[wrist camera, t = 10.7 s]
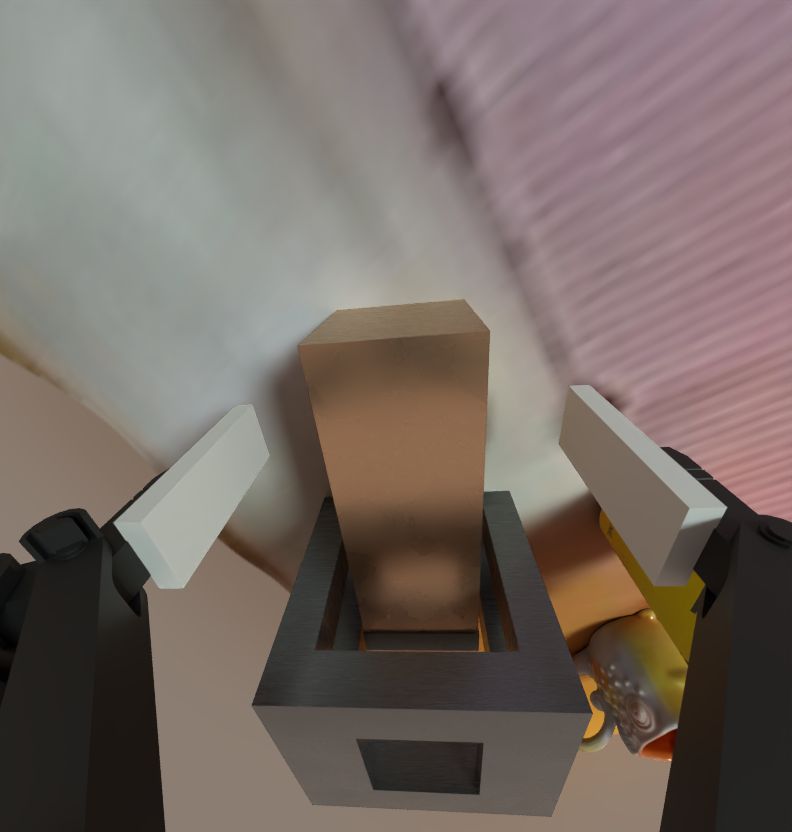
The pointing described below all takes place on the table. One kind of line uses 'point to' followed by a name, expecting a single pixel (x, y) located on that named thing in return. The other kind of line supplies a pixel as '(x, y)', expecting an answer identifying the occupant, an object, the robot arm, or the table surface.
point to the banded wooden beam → (406, 464)
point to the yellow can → (660, 593)
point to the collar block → (426, 690)
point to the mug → (635, 685)
